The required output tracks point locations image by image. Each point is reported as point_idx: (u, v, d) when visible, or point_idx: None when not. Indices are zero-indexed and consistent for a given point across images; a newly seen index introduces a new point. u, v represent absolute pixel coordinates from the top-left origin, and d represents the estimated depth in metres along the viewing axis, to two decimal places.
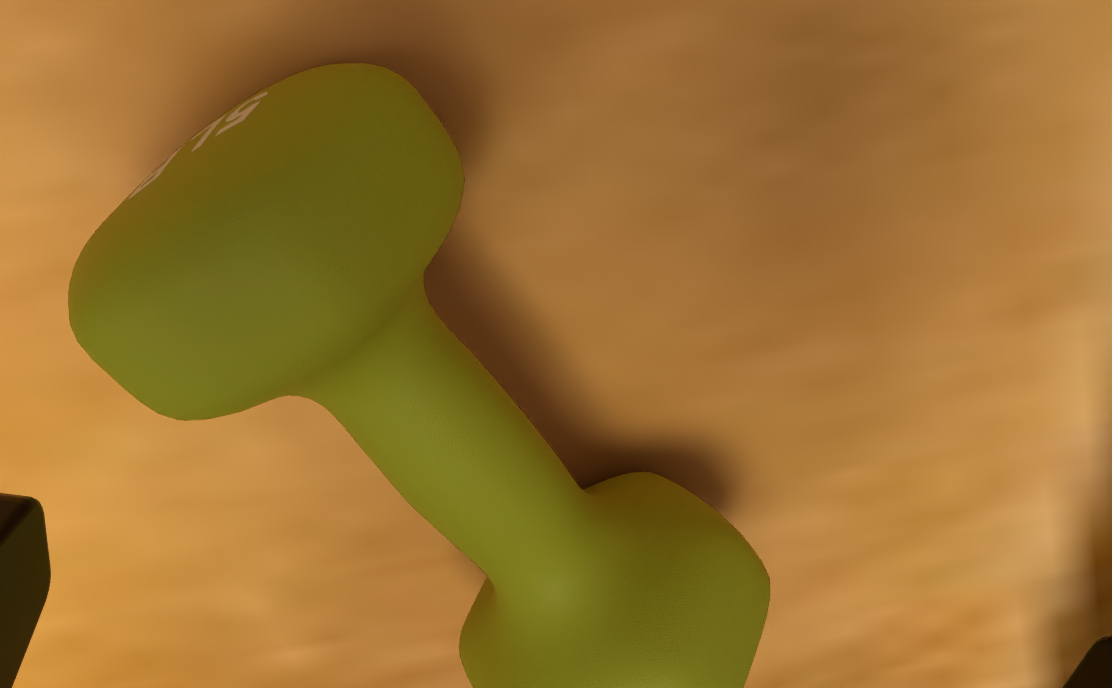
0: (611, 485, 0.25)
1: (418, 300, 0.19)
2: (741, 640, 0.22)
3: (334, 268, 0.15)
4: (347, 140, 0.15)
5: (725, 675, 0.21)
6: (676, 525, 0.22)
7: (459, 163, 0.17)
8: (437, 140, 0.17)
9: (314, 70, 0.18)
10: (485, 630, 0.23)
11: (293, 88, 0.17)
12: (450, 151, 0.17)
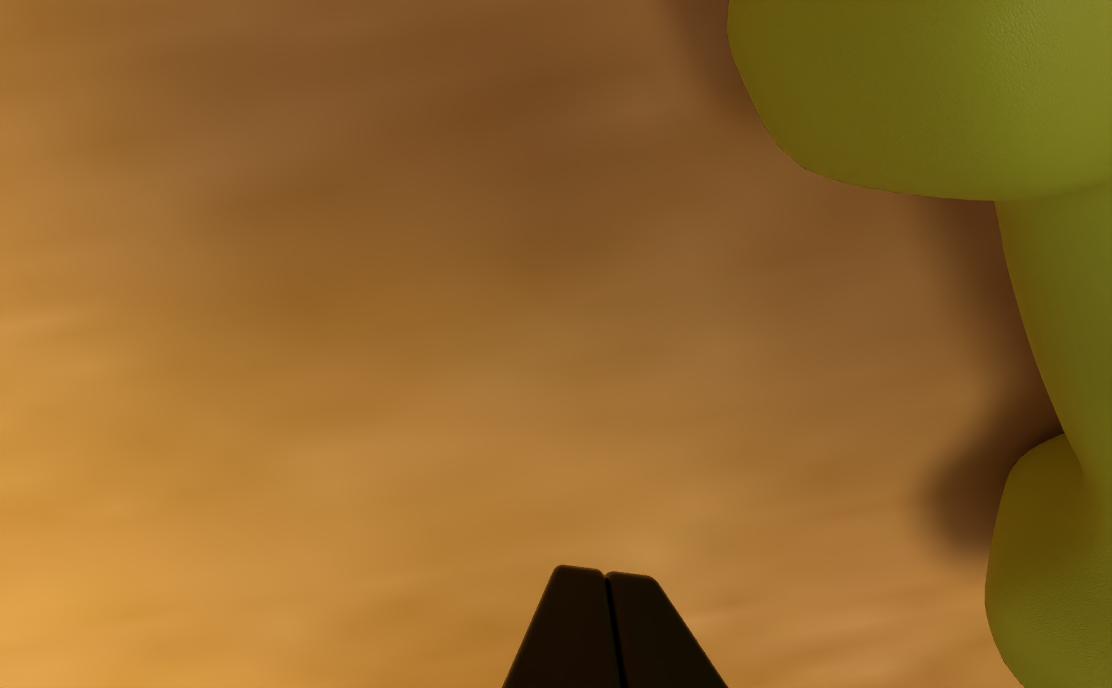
0: None
1: None
2: None
3: None
4: None
5: None
6: None
7: None
8: None
9: None
10: (1071, 579, 0.17)
11: None
12: None
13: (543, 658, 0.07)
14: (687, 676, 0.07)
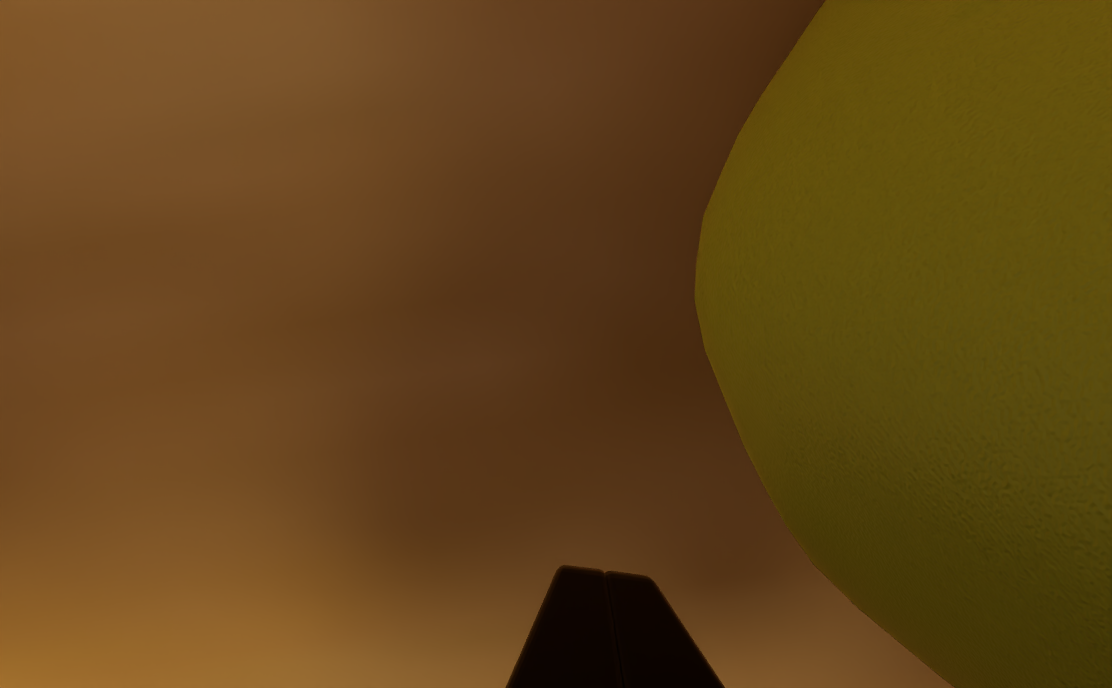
0: None
1: None
2: None
3: None
4: None
5: None
6: None
7: None
8: None
9: None
10: None
11: None
12: None
13: (546, 658, 0.07)
14: (683, 674, 0.07)
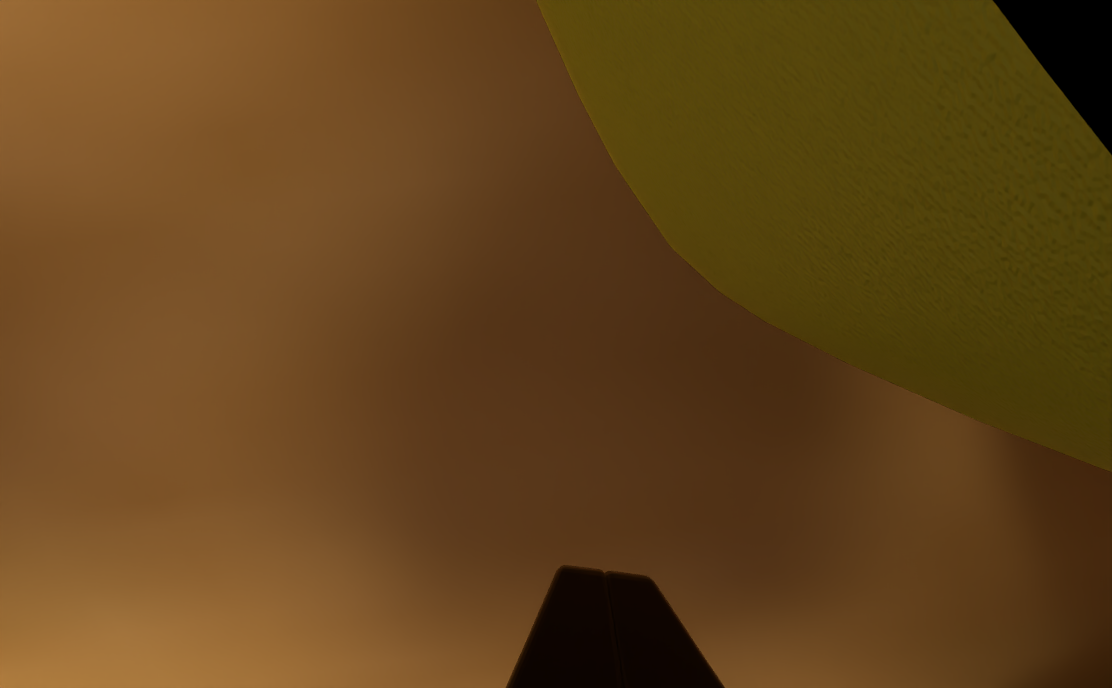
0: None
1: None
2: None
3: None
4: None
5: None
6: None
7: None
8: None
9: None
10: None
11: None
12: None
13: (546, 658, 0.07)
14: (683, 676, 0.07)
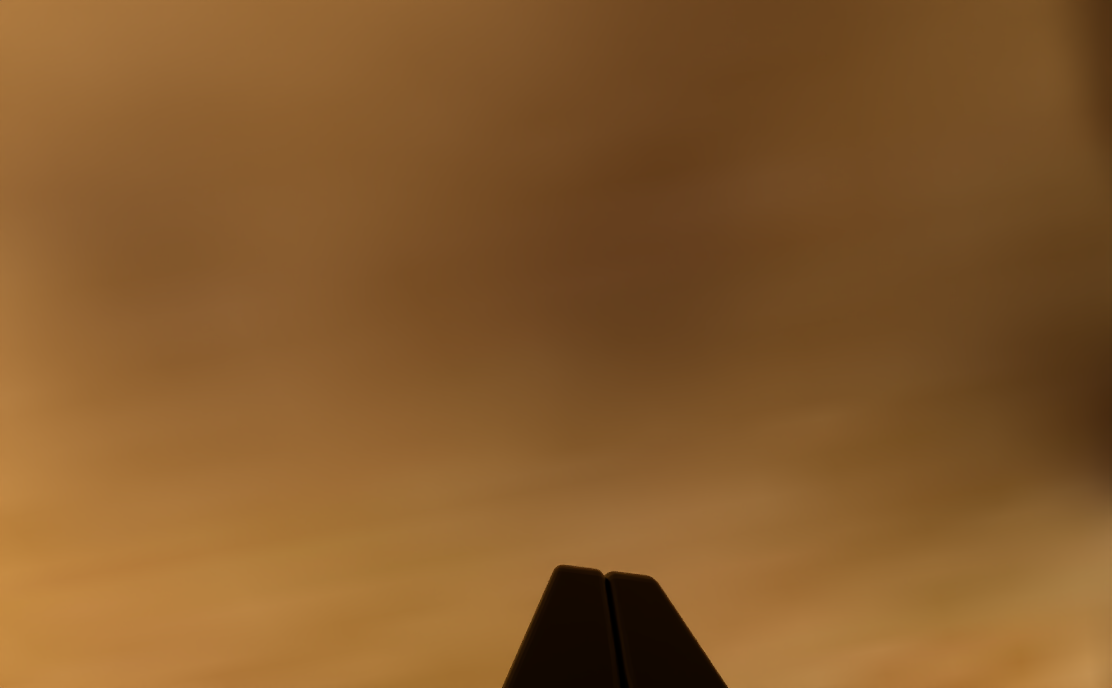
0: None
1: None
2: None
3: None
4: None
5: None
6: None
7: None
8: None
9: None
10: None
11: None
12: None
13: (543, 658, 0.07)
14: (686, 676, 0.07)
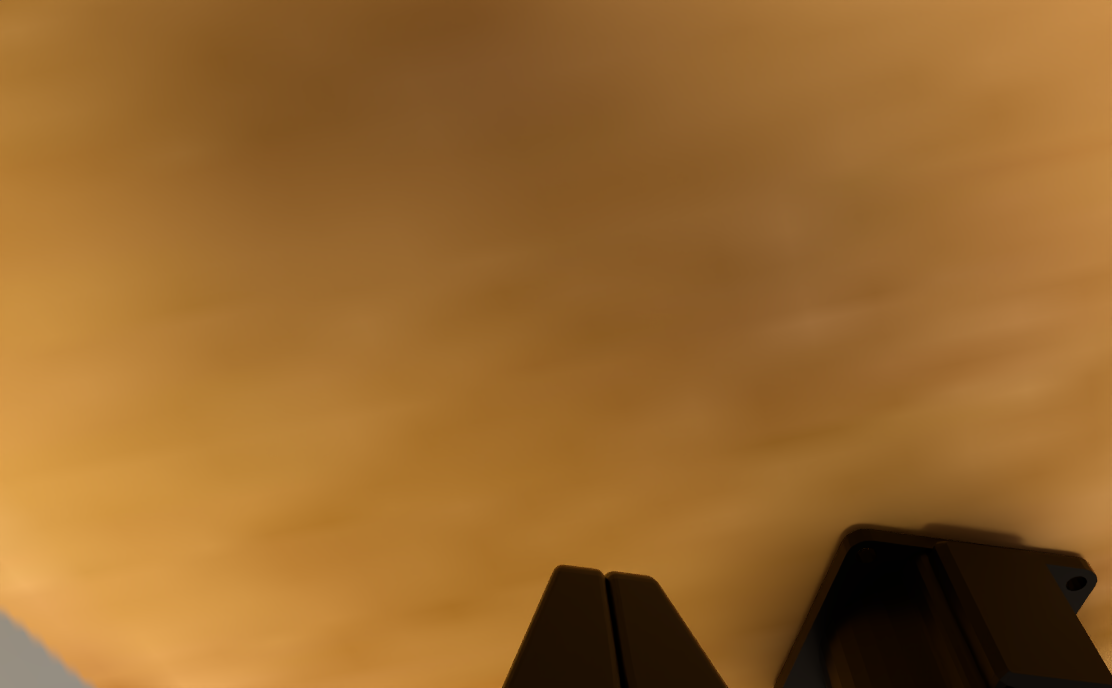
0: None
1: None
2: None
3: None
4: None
5: None
6: None
7: None
8: None
9: None
10: None
11: None
12: None
13: (543, 658, 0.07)
14: (686, 676, 0.07)
